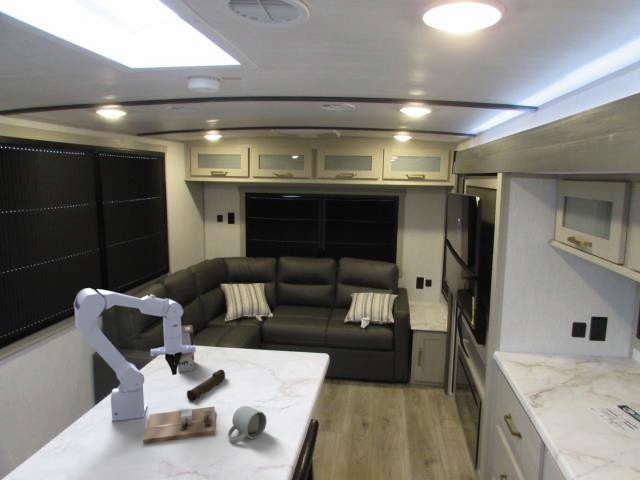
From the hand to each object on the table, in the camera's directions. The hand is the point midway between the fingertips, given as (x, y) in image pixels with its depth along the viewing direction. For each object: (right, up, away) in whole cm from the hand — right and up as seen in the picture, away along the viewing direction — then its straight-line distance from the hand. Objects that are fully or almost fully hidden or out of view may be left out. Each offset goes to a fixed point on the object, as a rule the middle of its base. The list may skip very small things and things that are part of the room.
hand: (174, 373), depth 148 cm
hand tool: (+9, -9, +9) cm, 15 cm away
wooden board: (+7, -12, -15) cm, 21 cm away
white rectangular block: (+9, -10, -16) cm, 21 cm away
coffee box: (-5, -6, +28) cm, 29 cm away
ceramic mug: (+28, -12, -20) cm, 36 cm away
